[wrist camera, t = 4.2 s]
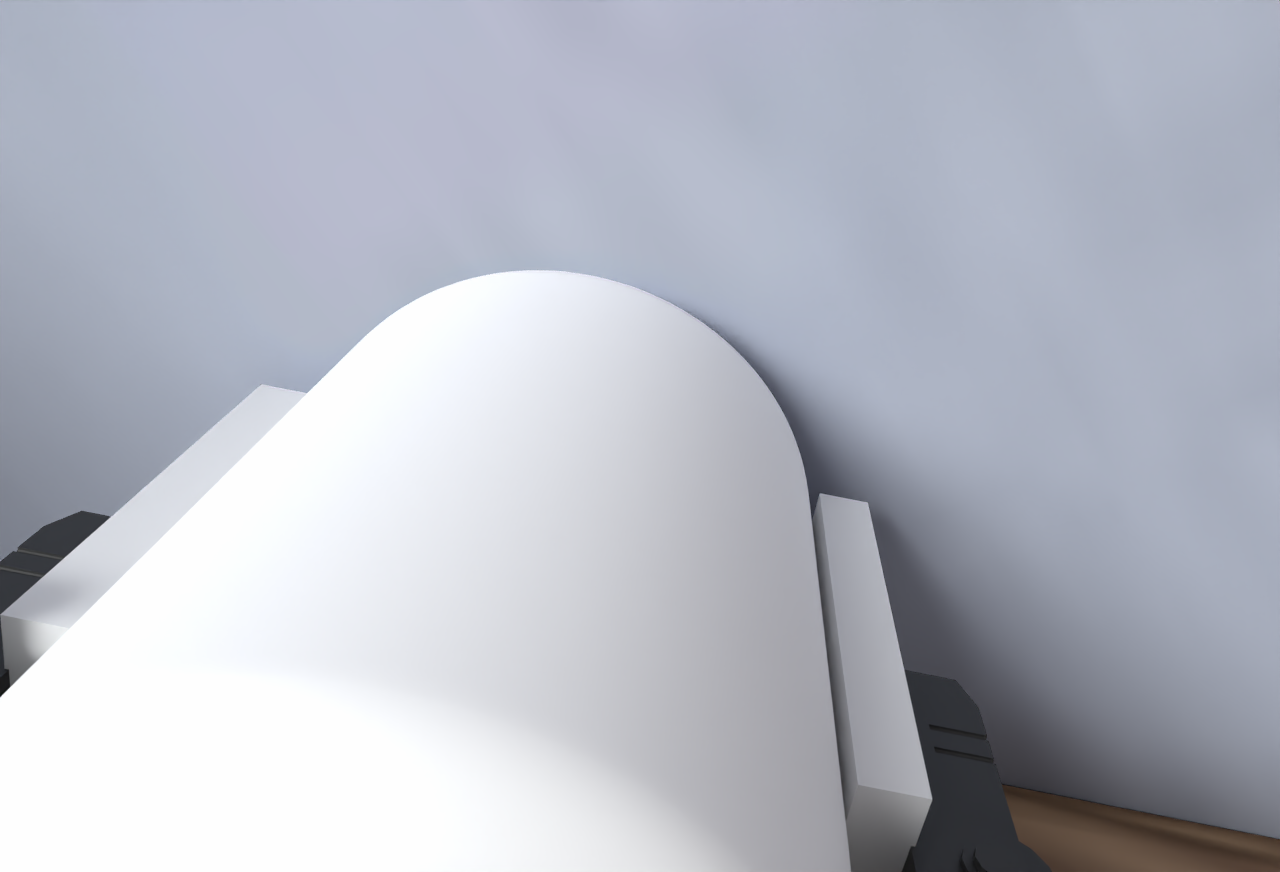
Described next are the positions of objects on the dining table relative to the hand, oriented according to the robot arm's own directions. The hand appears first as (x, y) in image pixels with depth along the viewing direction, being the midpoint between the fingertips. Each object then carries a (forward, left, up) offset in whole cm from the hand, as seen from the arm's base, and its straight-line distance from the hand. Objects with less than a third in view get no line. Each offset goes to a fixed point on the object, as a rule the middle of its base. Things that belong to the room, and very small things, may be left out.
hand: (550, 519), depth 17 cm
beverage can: (0, 0, -1) cm, 1 cm away
